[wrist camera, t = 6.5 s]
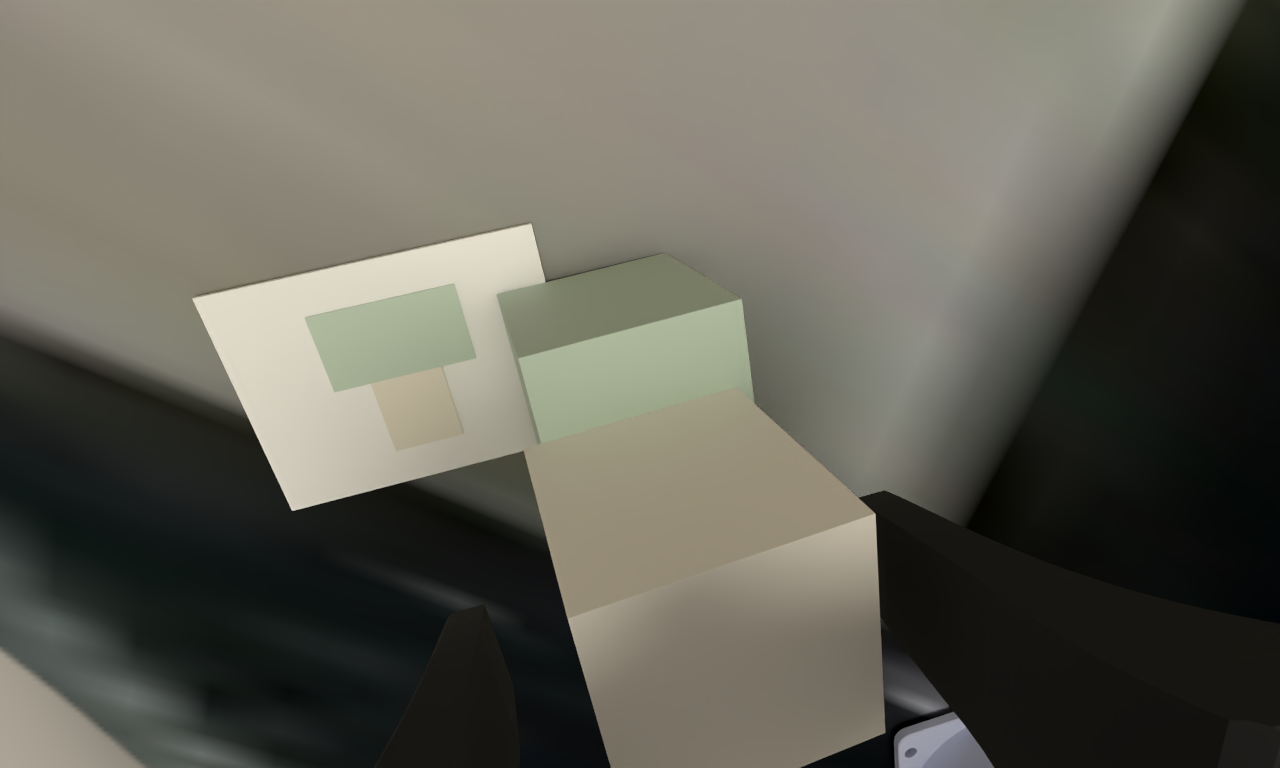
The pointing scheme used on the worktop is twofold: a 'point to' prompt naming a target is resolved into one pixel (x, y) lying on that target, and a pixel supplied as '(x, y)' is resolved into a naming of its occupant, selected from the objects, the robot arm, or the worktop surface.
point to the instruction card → (380, 364)
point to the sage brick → (623, 343)
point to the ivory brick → (714, 588)
